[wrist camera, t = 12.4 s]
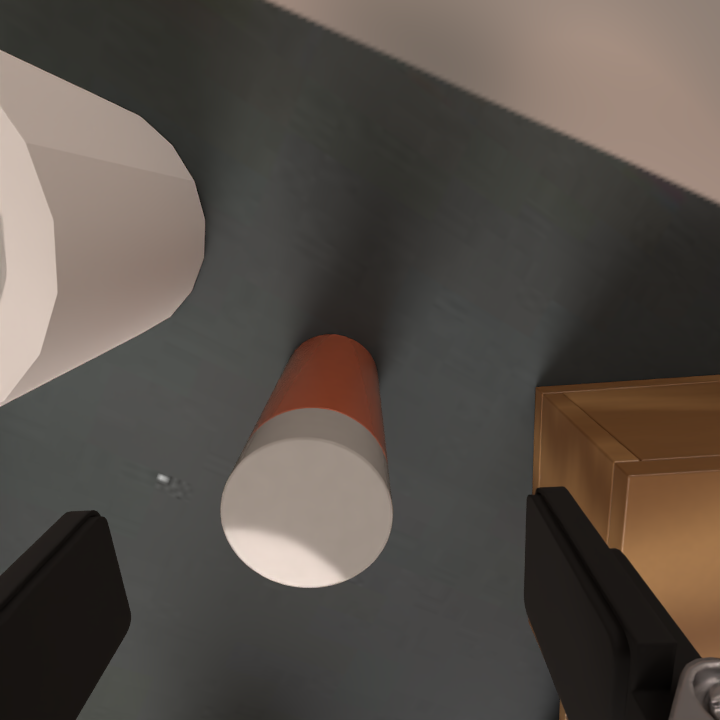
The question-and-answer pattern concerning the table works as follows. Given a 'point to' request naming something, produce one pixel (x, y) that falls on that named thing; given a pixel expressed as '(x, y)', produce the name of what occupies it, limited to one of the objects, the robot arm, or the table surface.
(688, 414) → the cabinet
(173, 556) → the table surface
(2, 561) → the table surface
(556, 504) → the robot arm
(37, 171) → the mug
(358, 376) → the pill bottle
